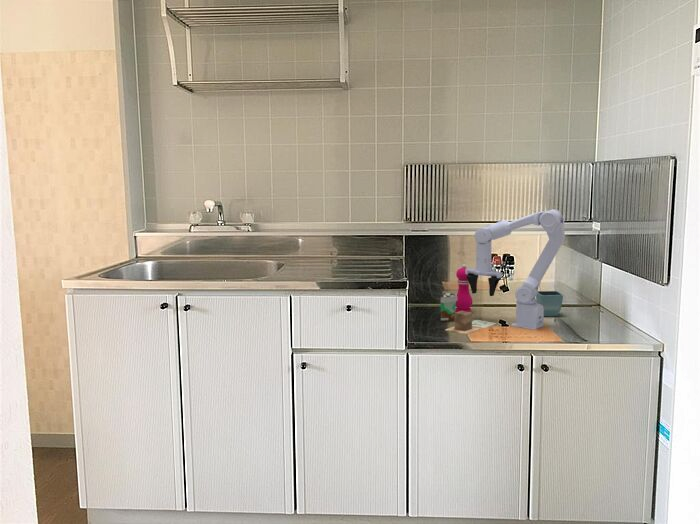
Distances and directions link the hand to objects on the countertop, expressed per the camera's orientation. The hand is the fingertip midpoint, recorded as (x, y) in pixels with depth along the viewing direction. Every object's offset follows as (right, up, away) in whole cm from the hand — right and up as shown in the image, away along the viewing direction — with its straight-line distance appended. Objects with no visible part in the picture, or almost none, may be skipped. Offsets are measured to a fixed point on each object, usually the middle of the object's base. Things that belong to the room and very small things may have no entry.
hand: (482, 294), depth 242 cm
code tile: (-2, -11, -3) cm, 12 cm away
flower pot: (+28, -9, +10) cm, 31 cm away
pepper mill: (-5, -8, +15) cm, 18 cm away
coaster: (-10, -13, -12) cm, 20 cm away
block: (-10, -12, -12) cm, 19 cm away
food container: (-12, -10, +5) cm, 16 cm away
